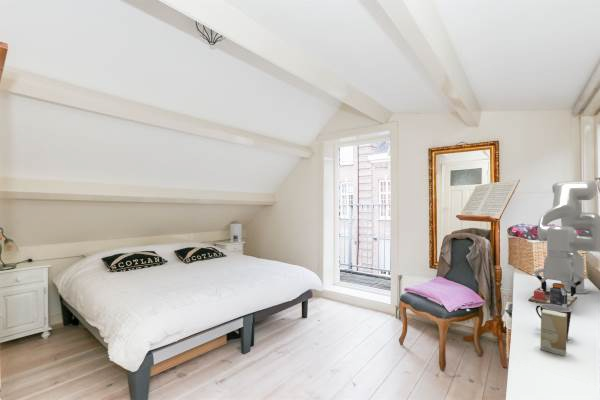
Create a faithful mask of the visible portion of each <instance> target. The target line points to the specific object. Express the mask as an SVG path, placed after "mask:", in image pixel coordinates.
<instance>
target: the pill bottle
mask: <svg viewBox="0 0 600 400" xmlns="http://www.w3.org/2000/svg"><path fill="white" fill-rule="evenodd" d="M567 294H568V292H567V291H566V290H565V289H564V284H561V282H560V283H557V282H553V283H552V287H550V304H553V305H559V306H563V307H567Z"/></svg>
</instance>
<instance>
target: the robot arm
mask: <svg viewBox="0 0 600 400" xmlns="http://www.w3.org/2000/svg"><path fill="white" fill-rule="evenodd" d="M551 189H552V193H553V194H554V195H553V203H552V208H550V209H549V210H547V211H546V212H544V214H542V215H541V216H540V218H539V220H538V226H537V232H536V233H537V238H538V240H540V241H543V242H546V255H547V256H546V255H545V256H544V261H543V262H544V263H543V268H541V269H537V270H535V271H534V275H535V277H536V278H537V279H538V281H540V283H541V284H540V285H541V286H540V287H541V288H542V289H543V291H544V292H545V291H546V290H547V288H546V285H547V280H551V281H552V280H553V281H559V282H560V284H564V289H565V290H566V291H567V293H569V294H570V295H571V296H575V295H576V294H579V295H580V294H583V295H585V294H586V295H587V294H588V293H589V290H588V289H585V260H584V257H583V255H581V254H580V252H583V251H584V252H595V253H596V252H600V215H599V214H598V213H597V212H596V213H595V212H583V210H582V202H581V201H591V200H593V199H594V198H595V196H596V194H597V192H598V186H597V184H596V182H595V181H594V180H578V181H577V180H575V181H574V180H573V181H572V180H570V181H560V182H554V184H552V187H551ZM557 220H560V221H561V225H548V224H550V223H551V222H553V221H557ZM578 231H582V232H578ZM583 231H585V232H583ZM587 231H588V232H587ZM579 251H580V252H579ZM541 273H542V275H543V276H541V275H540V274H541Z"/></svg>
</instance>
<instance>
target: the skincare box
mask: <svg viewBox="0 0 600 400" xmlns="http://www.w3.org/2000/svg"><path fill="white" fill-rule="evenodd" d="M540 316H541V318H540V348H539V349H540V350H542V351H545V352H549V353H552V354H556V355H559V356H564V357H565V356H566V354H567V340H568V339H567V314H566V313H560V312H556V311H551V310H546V309H543V310H542V312H541V311H540Z"/></svg>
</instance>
